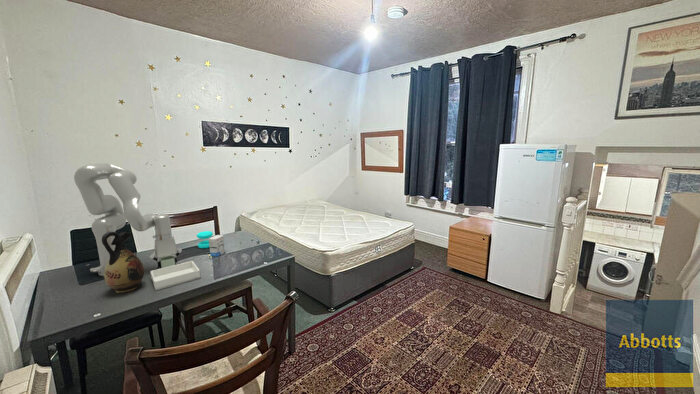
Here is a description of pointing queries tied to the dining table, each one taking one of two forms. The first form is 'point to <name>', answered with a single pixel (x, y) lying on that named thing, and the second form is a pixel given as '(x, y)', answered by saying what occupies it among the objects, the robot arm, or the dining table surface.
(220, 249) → the ink box
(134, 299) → the dining table surface
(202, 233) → the donuts
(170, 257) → the box
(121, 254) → the ceramic jug
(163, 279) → the white shallow tray
